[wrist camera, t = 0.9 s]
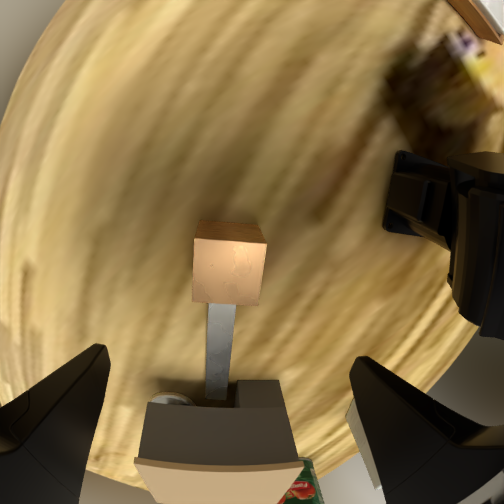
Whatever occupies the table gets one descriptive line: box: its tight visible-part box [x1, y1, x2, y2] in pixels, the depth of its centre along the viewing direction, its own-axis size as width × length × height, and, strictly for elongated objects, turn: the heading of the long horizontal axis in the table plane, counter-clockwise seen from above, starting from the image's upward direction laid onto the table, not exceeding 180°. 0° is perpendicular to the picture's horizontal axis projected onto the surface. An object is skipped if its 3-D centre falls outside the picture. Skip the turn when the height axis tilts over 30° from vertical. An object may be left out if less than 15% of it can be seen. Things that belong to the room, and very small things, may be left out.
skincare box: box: [346, 399, 382, 490], centre depth 23 cm, size 6×4×12 cm
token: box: [150, 392, 196, 406], centre depth 25 cm, size 5×5×1 cm
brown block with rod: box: [192, 220, 267, 400], centre depth 20 cm, size 4×17×4 cm, turn 173°
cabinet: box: [134, 380, 304, 504], centre depth 21 cm, size 12×11×10 cm
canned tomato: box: [277, 458, 324, 504], centre depth 29 cm, size 8×8×11 cm
